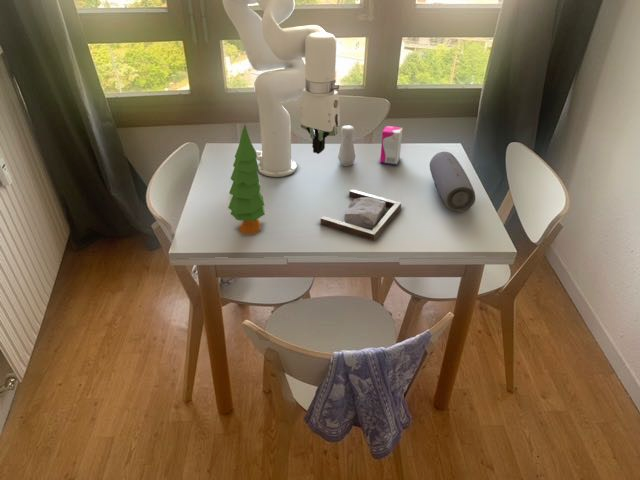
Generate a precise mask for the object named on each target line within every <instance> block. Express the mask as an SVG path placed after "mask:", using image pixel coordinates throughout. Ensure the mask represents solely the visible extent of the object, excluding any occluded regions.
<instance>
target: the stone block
mask: <svg viewBox="0 0 640 480" xmlns="http://www.w3.org/2000/svg"><path fill="white" fill-rule="evenodd" d="M386 209H387V207H386V202H383V201H381V200H378V199H374V198H369V197H364V198H362V197H360V198H357V199H355V198H353V201H352V202H351V203H350V204H349V205H348V207H347V208H346V209H345V212H344V216H343V217H344V222H345V223H348V224H352V225H355V226H358V227H362V228H365V229H368V230H372V229H373V228H374V227H375V226H376V225H377V224H378V222H379V221H380V220H381V219H382V218H383V214H385V213H384V212H385V211H386Z"/></svg>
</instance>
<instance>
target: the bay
mask: <svg viewBox="0 0 640 480" xmlns="http://www.w3.org/2000/svg"><path fill="white" fill-rule="evenodd" d="M348 194H349V195H348V197H349V198H352V199H357V198H360V197H362V198H364V197H369V198H374V199H378V200H381V201H383V202H386V209H388V211H387V212H386V213H384V216H382V217H381V218H380V220H379V222H378V224H377V225H376V226H375V227H374V228H373V229H365V228H362V227H358V226H355V225H352V224H348V223H346V221H341V220H338V219H334V218H332V217H329V216H325V215H323V216H321V217H320V225H321V226H324V227H327V228H330V229H333V230H337V231H339V232H343V233H347V234H350V235H353V236H356V237H359V238H363V239H366V240H369V241H372V242H374V241H375V240H376V239H377V238H378V237H379V235H381V233H382V232H383V231H384V230H385V228H386V227H387V226H388V224H390V222H391V221H392V220H393V219H394V218H395V216H396V215H397V214H398V213H399V212H400V210H401V209H402V202H400V201H398V200H393V199H390V198H386V197H383V196H379V195H374V194H370V193H367V192H364V191H360V190H356V189H353V188H351V189H350V190H349V193H348Z"/></svg>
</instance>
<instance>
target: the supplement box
mask: <svg viewBox="0 0 640 480" xmlns="http://www.w3.org/2000/svg"><path fill="white" fill-rule="evenodd" d="M403 130H404V129H403V127H399V126H391V125H385V127H384V129H383V130H382V135H381V145H380V146H381V147H380V160H379V163H380V164H381V165H388V166H397V165H398V164H399V161H400V159H401V150H402V149H401V148H402V139H403Z"/></svg>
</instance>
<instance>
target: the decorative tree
mask: <svg viewBox="0 0 640 480" xmlns="http://www.w3.org/2000/svg"><path fill="white" fill-rule="evenodd" d="M256 151H257V150H256V149H255V147H254V145H253V144H252V141H251V139H250V136H249V133H248V129H247V125H246V124H243V128H242V131H241V133H240V139H239V144H238V147H237V149H236V152H235V155H234V161H233V164H232V167H233V170H232V174H231V176H230V180H231V181H232V184H231V187H230V189H229V192H228V194H230V195H231V199H230V202H229V204H228V206H227V209H229V211H230V215H231V216H232V217H233V218H234V219H235V220H237V221H242V223H241V224H240V225H239V227H238V228H237V229H238V230H239V232H241V233H242V234H243V235H244V236H245V235H246V236H247V235H254V234H257V233H259V232H261V228H262V223H261V222H260V220H259V219H260V218H261V217H263V216H265V215H266V214H265V199H264V196H263V194H262V193H261V192H260V191H261V189H262V185H261V183H260V177H259V173H258V172H259V168H258V165H259V163H258V160H256V157H257V154H256Z"/></svg>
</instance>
